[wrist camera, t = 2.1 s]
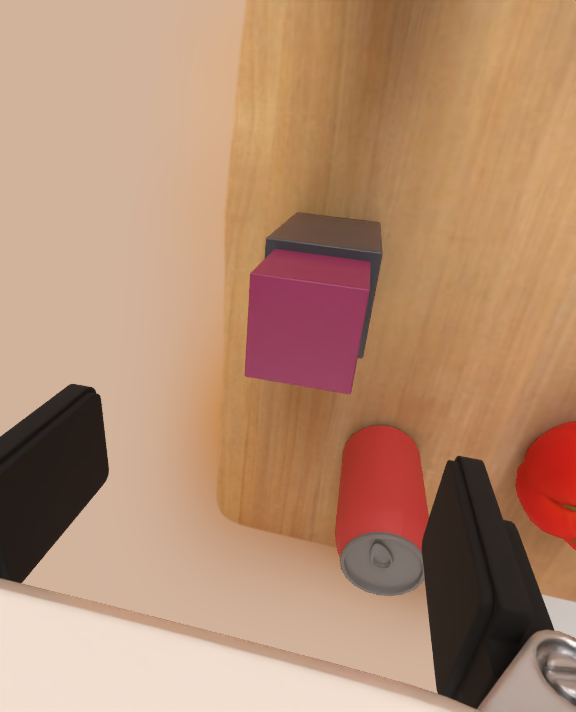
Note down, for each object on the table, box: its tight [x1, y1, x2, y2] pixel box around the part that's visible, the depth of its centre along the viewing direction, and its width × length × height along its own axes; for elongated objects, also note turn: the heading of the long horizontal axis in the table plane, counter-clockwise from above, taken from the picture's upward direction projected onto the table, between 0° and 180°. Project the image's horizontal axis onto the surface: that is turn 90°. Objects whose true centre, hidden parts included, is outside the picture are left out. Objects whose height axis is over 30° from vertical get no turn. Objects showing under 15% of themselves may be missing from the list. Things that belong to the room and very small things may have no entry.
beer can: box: [335, 426, 429, 596], centre depth 34 cm, size 7×7×12 cm
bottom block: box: [265, 213, 382, 358], centre depth 28 cm, size 6×6×10 cm
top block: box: [245, 249, 371, 394], centre depth 21 cm, size 5×5×5 cm
